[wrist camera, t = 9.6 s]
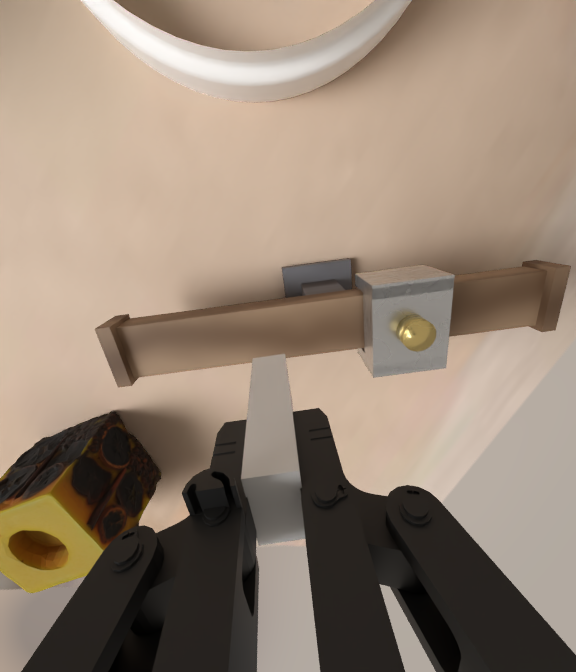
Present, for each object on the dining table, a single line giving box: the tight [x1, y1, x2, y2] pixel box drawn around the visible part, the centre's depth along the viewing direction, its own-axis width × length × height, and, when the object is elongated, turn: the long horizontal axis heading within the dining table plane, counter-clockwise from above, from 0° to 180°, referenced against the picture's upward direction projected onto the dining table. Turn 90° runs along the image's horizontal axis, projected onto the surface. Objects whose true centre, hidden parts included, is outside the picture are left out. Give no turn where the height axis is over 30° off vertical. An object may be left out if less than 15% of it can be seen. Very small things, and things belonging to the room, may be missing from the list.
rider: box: [355, 265, 455, 378], centre depth 20 cm, size 6×5×5 cm
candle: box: [0, 411, 161, 593], centre depth 29 cm, size 10×10×10 cm
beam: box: [95, 258, 571, 387], centre depth 24 cm, size 7×32×8 cm, turn 97°
